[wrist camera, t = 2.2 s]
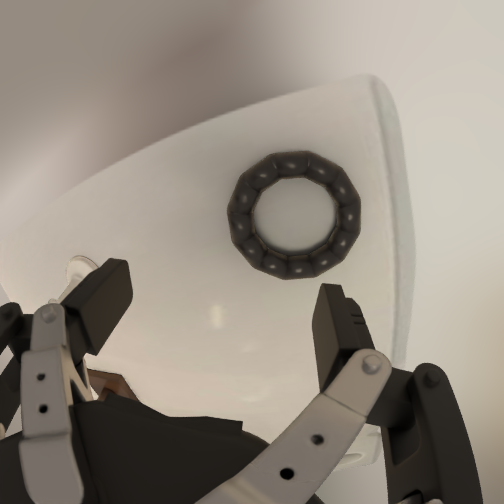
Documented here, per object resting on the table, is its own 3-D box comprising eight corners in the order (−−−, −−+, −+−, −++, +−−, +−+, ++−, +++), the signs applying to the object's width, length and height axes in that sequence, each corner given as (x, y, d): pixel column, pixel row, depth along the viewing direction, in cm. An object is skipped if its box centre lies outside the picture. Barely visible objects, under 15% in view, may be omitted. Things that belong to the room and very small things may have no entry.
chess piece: (61, 261, 24) (3, 317, 15) (90, 250, 23) (25, 312, 14) (83, 300, 26) (34, 361, 17) (113, 293, 25) (62, 363, 16)
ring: (221, 158, 19) (216, 161, 17) (355, 147, 18) (362, 150, 16) (240, 275, 23) (237, 287, 21) (355, 266, 22) (360, 277, 20)
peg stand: (85, 368, 32) (47, 435, 20) (121, 374, 31) (85, 453, 20) (105, 396, 35) (76, 459, 23) (140, 403, 34) (114, 474, 23)
